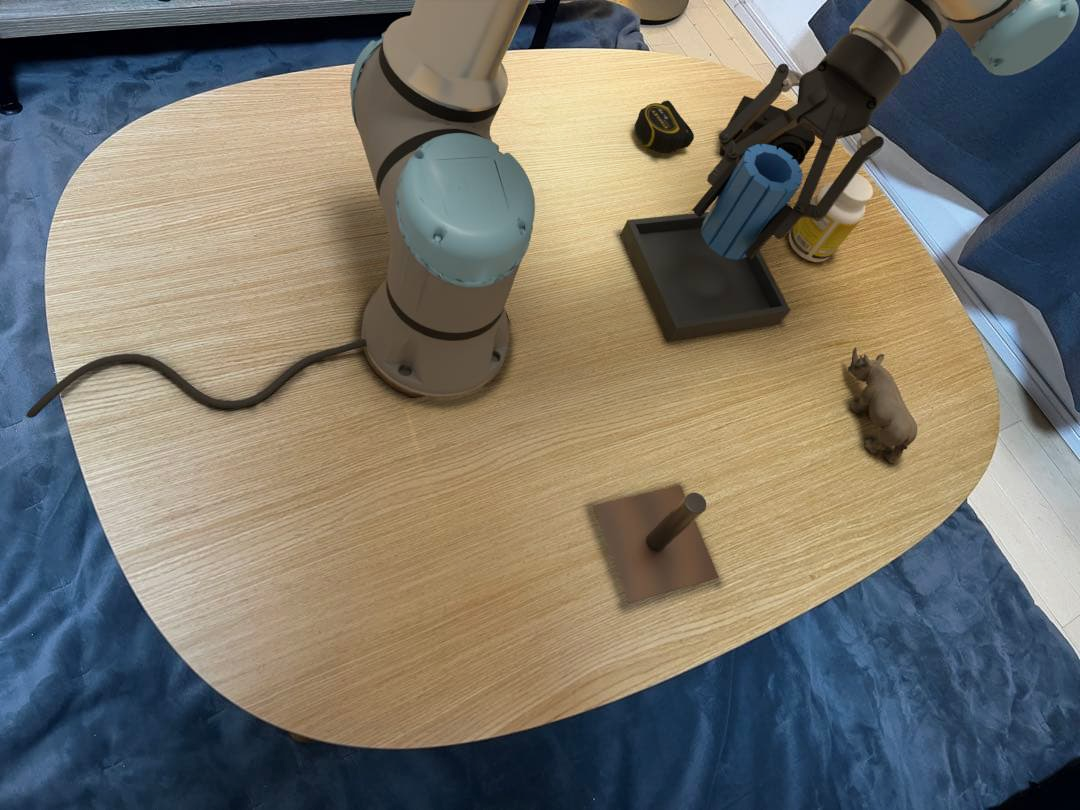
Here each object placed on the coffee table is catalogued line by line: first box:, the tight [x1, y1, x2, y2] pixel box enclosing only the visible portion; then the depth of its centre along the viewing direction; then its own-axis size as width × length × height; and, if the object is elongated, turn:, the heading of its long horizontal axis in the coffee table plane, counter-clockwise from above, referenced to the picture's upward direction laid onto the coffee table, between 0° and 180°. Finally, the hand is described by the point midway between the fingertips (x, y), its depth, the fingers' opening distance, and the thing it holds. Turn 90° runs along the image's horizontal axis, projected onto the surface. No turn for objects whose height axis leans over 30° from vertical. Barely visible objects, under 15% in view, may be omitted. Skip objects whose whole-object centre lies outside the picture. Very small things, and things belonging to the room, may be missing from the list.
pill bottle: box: [788, 172, 874, 263], centre depth 105 cm, size 6×6×11 cm
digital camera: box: [719, 95, 816, 166], centre depth 113 cm, size 10×5×7 cm, turn 77°
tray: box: [619, 211, 792, 342], centre depth 101 cm, size 16×16×3 cm
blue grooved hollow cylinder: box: [701, 144, 804, 260], centre depth 91 cm, size 6×7×11 cm
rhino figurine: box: [847, 346, 918, 464], centre depth 96 cm, size 4×14×6 cm, turn 12°
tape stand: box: [592, 485, 720, 604], centre depth 79 cm, size 10×10×11 cm
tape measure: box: [634, 99, 695, 155], centre depth 111 cm, size 7×7×4 cm
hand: (722, 234), depth 91 cm, fingers closed on blue grooved hollow cylinder, 7 cm apart
